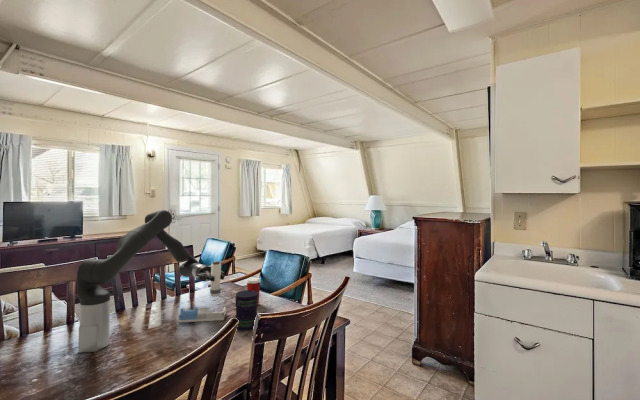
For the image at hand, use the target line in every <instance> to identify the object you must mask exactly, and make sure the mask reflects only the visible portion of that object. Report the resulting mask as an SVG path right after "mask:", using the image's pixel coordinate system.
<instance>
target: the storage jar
mask: <svg viewBox="0 0 640 400" xmlns="http://www.w3.org/2000/svg"><path fill="white" fill-rule="evenodd" d="M257 295H258V292H256V291H253V290H240V291H238V292H235V318H237V319H238V320H239V324H238V327H237V330H236V331H239V332H250V331H252V330H254V329H253V326H254V320H255V317H256V315H257V316H258V306H259V304H258V296H257ZM257 305H258V306H257Z"/></svg>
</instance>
